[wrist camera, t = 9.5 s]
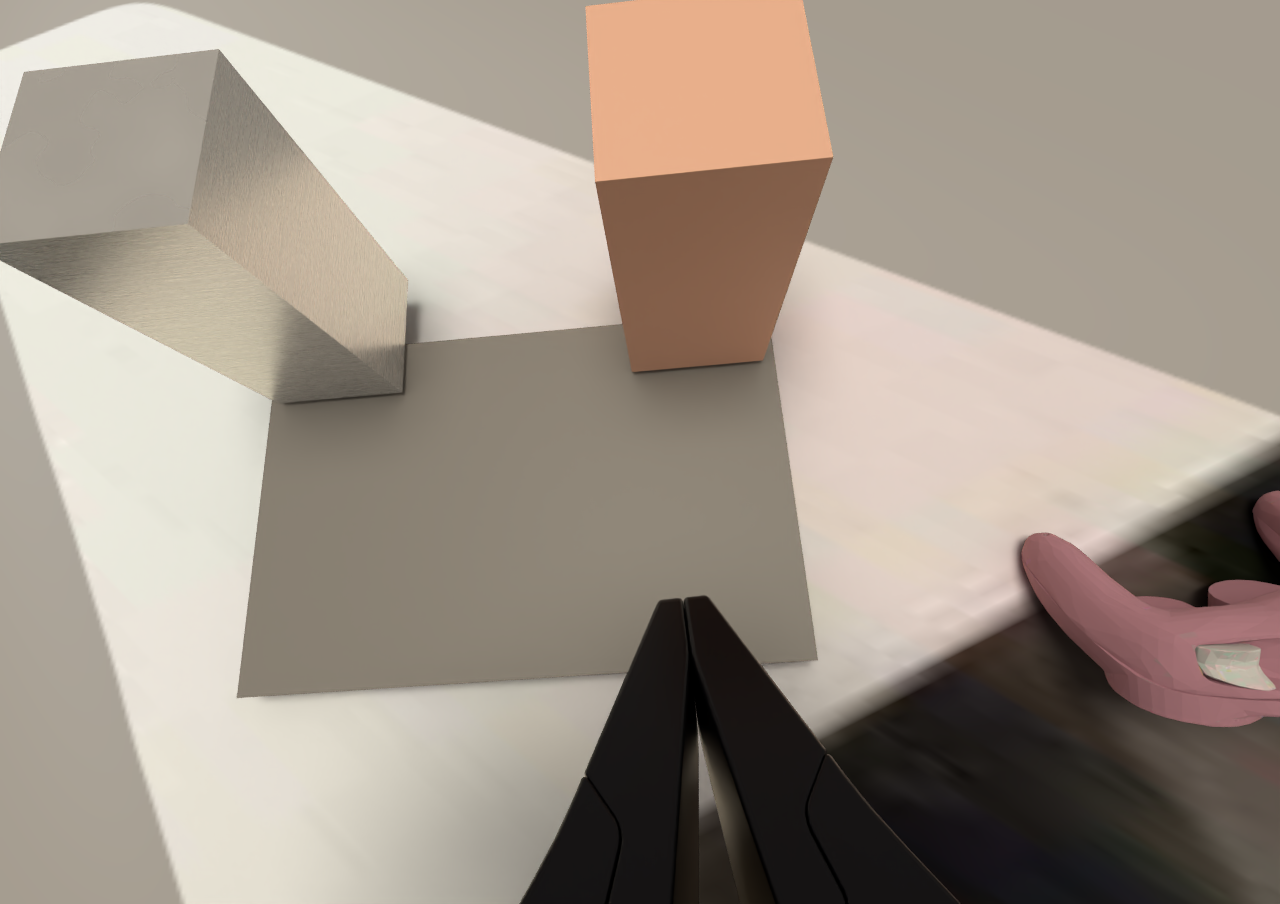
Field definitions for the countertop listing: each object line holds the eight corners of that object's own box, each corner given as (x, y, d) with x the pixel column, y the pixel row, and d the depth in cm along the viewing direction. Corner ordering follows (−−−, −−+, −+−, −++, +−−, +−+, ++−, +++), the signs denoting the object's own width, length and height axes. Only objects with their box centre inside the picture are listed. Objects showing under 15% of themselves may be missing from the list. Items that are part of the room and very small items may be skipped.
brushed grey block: (402, 392, 22) (187, 223, 12) (278, 403, 22) (-28, 246, 13) (408, 279, 23) (218, 49, 14) (291, 291, 24) (24, 72, 14)
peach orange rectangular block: (763, 360, 21) (832, 157, 12) (631, 372, 22) (595, 181, 12) (747, 247, 23) (799, -19, 13) (624, 259, 23) (585, 6, 13)
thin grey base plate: (809, 656, 20) (817, 660, 19) (261, 693, 21) (236, 697, 20) (763, 325, 23) (767, 310, 22) (296, 367, 24) (277, 355, 23)
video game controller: (1011, 642, 21) (1196, 787, 14) (1004, 528, 20) (1198, 622, 13) (1275, 597, 21) (1593, 720, 14) (1279, 479, 20) (1620, 549, 13)
